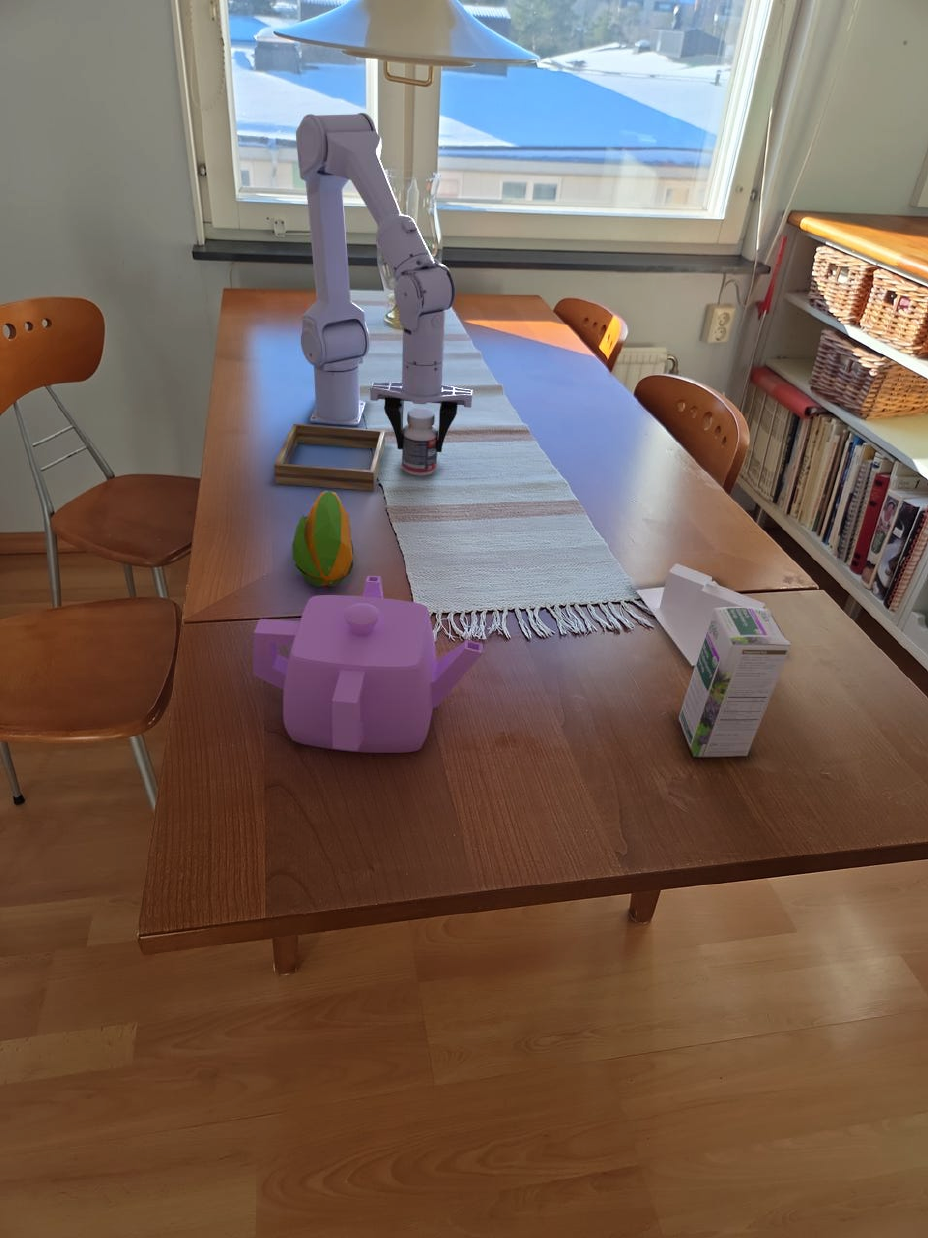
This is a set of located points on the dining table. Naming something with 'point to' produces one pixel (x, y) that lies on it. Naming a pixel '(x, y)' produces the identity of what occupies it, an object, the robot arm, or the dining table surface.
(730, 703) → the syrup box
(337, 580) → the corn
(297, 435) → the picture frame
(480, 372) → the dining table surface
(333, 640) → the teakettle
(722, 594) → the napkin holder
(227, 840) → the dining table surface
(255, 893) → the dining table surface
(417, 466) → the pill bottle
